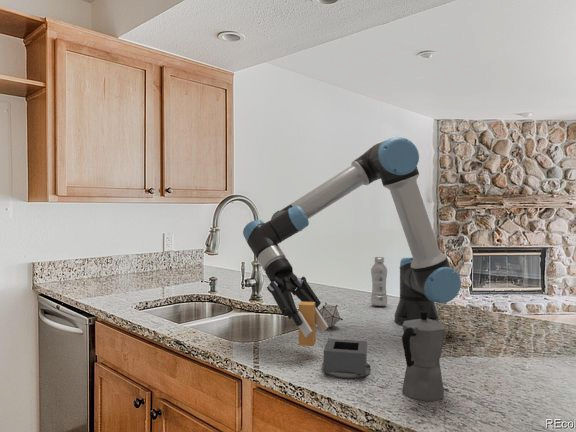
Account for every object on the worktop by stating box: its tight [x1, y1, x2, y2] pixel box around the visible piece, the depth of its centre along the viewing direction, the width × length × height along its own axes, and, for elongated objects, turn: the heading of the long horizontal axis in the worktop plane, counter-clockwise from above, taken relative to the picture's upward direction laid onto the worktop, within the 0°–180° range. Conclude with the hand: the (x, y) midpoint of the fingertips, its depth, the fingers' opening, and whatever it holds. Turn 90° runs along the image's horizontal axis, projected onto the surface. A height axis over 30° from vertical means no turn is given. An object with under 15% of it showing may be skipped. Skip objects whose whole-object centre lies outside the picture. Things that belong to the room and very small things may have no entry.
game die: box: [319, 301, 344, 331], centre depth 149 cm, size 9×8×10 cm
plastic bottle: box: [370, 256, 388, 308], centre depth 181 cm, size 6×7×20 cm
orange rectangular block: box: [298, 301, 317, 347], centre depth 121 cm, size 4×4×11 cm
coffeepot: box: [401, 311, 446, 402], centre depth 96 cm, size 15×9×18 cm, turn 137°
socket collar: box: [321, 338, 371, 380], centre depth 111 cm, size 12×12×6 cm
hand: (317, 332), depth 118 cm, fingers closed on orange rectangular block, 6 cm apart
